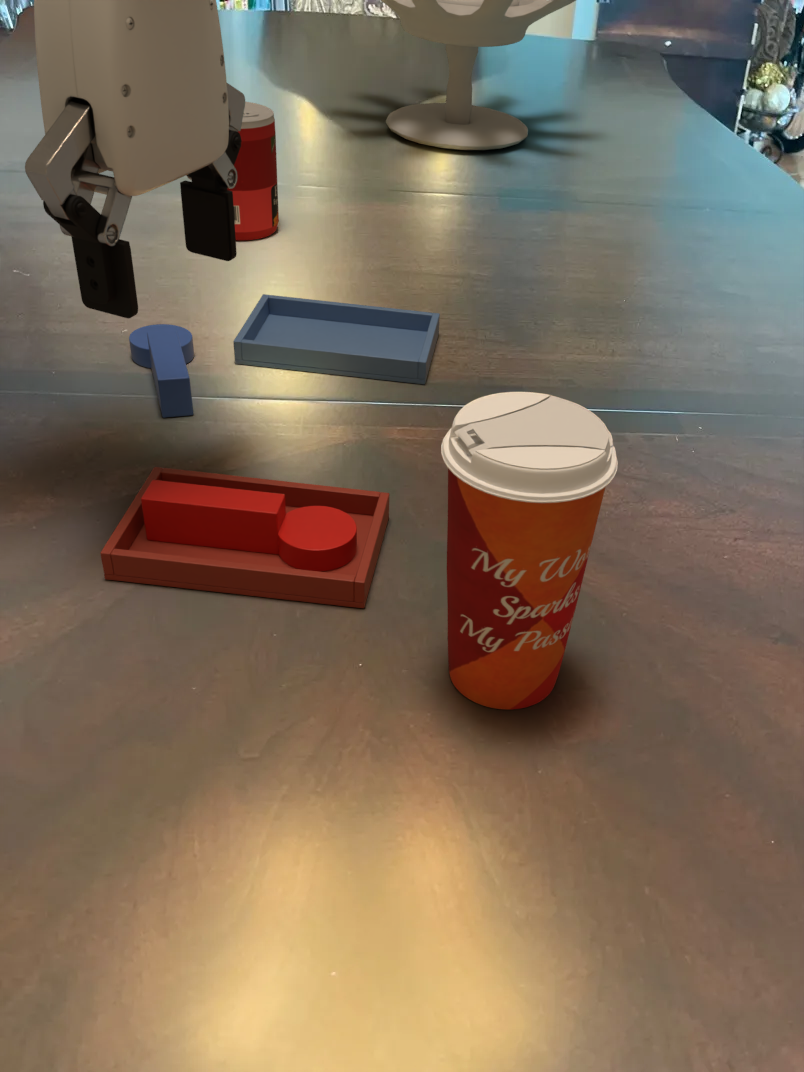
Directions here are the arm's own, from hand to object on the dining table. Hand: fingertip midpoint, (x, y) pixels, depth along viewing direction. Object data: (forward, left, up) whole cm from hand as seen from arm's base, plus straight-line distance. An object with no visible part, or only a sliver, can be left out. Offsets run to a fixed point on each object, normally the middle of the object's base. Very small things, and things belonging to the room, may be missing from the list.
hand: (164, 281), depth 60 cm
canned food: (-9, +49, -14) cm, 51 cm away
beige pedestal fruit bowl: (+9, +92, -14) cm, 93 cm away
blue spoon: (-6, +15, -14) cm, 21 cm away
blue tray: (+6, +24, -14) cm, 28 cm away
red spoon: (+6, -6, -14) cm, 16 cm away
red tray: (+6, -5, -14) cm, 16 cm away
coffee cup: (+22, -14, -14) cm, 30 cm away
